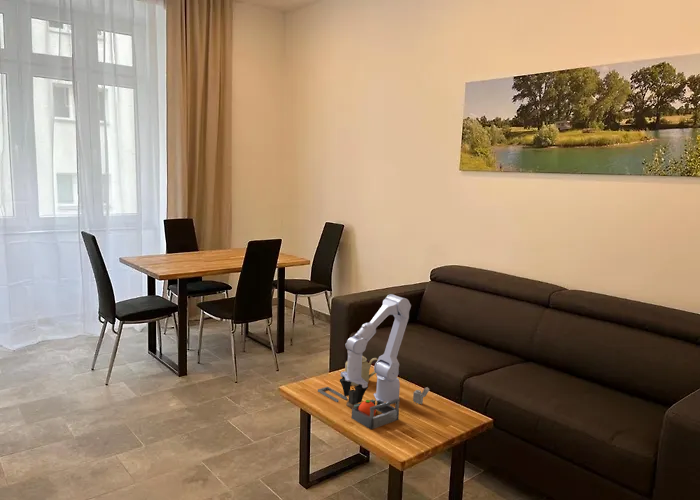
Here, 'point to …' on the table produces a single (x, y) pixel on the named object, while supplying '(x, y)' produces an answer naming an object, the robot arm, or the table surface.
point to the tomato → (366, 407)
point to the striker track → (332, 392)
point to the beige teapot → (364, 369)
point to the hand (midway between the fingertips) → (352, 398)
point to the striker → (354, 400)
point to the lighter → (420, 395)
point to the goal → (379, 420)
